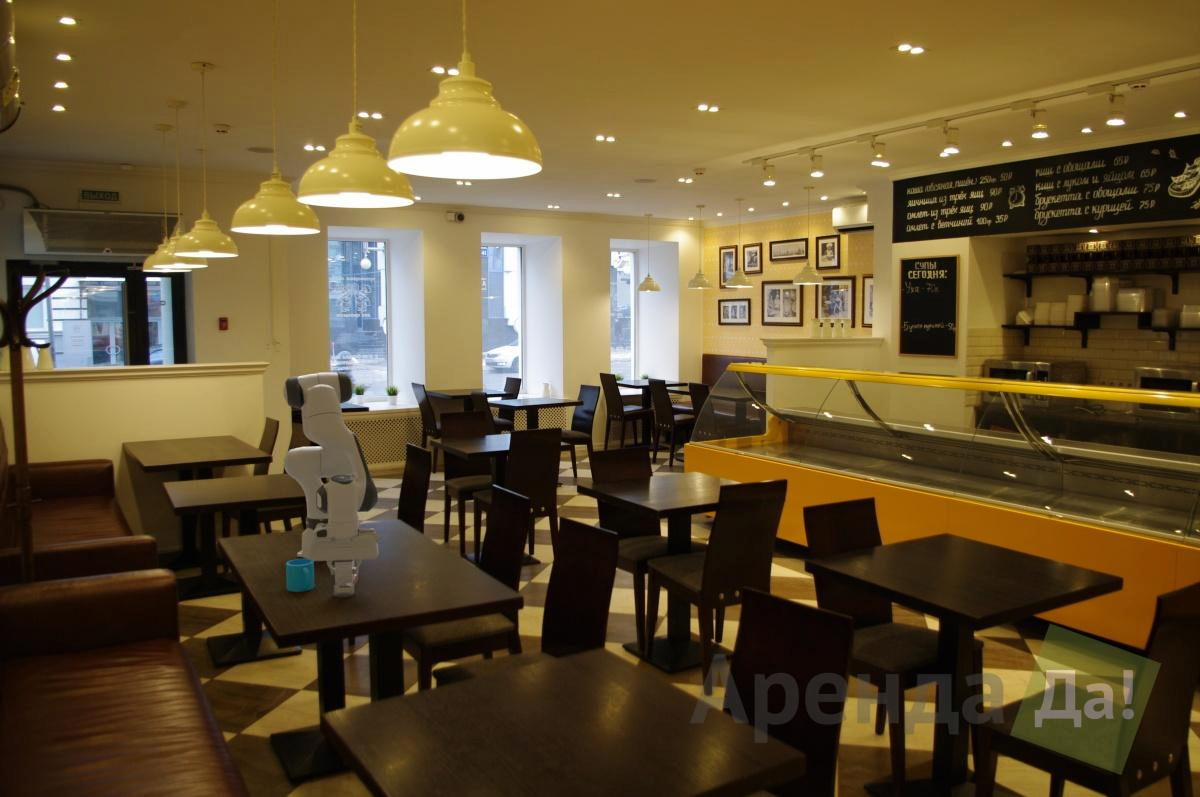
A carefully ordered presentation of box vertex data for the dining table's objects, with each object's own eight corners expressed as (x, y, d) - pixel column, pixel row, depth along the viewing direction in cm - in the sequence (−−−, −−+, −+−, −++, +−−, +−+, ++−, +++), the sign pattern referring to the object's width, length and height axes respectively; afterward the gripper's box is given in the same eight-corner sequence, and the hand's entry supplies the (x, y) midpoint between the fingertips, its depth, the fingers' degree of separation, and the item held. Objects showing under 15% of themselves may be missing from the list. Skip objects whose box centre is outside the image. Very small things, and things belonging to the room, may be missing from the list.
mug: (283, 586, 280) (282, 561, 279) (309, 582, 285) (308, 557, 284) (295, 596, 270) (294, 570, 270) (322, 591, 275) (321, 565, 274)
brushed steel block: (337, 578, 274) (337, 558, 274) (354, 578, 275) (354, 557, 274) (335, 583, 269) (334, 562, 269) (352, 582, 270) (351, 561, 269)
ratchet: (343, 580, 287) (342, 560, 287) (362, 579, 288) (362, 560, 287) (332, 598, 269) (331, 576, 268) (352, 597, 269) (352, 576, 269)
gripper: (380, 525, 275) (380, 569, 276) (311, 527, 272) (312, 572, 273) (377, 530, 269) (378, 575, 270) (307, 532, 266) (308, 578, 267)
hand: (344, 574), depth 272 cm, fingers closed on brushed steel block, 5 cm apart
